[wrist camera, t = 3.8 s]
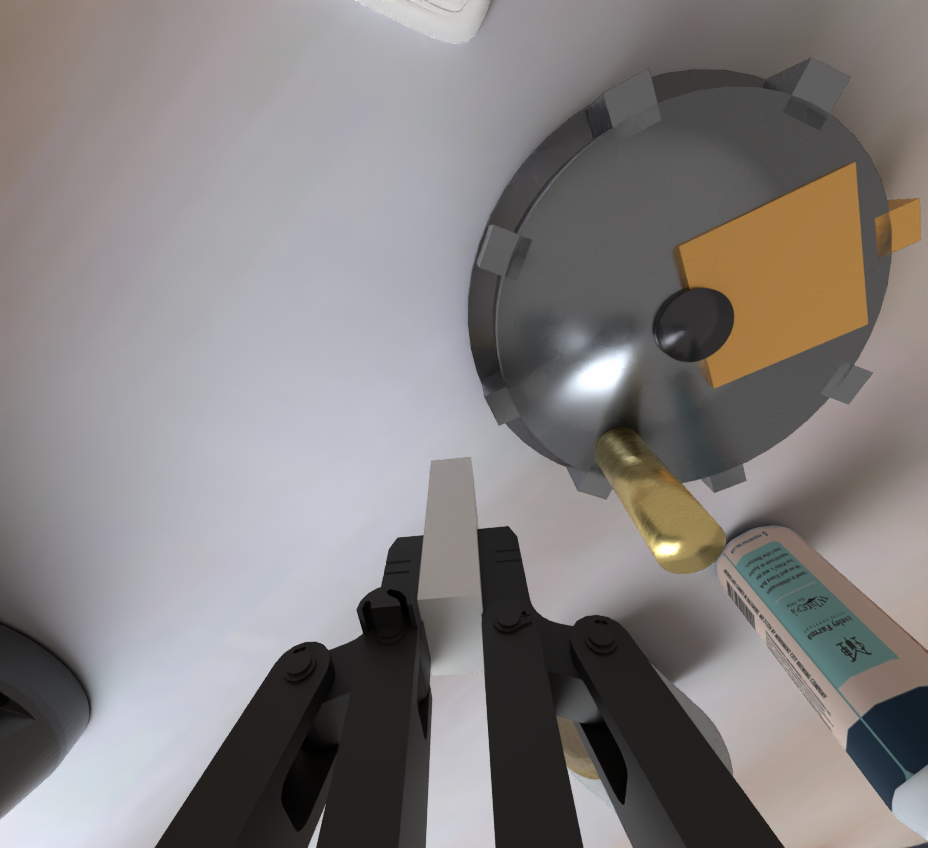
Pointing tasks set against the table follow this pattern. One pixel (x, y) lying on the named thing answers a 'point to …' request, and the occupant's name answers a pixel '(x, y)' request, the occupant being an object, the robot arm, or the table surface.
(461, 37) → the calculator
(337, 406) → the table surface
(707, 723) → the ceramic mug
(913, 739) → the beer can
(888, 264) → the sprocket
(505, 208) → the hub plate
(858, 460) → the table surface
